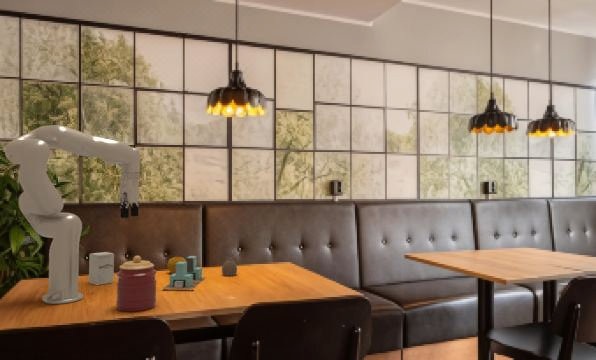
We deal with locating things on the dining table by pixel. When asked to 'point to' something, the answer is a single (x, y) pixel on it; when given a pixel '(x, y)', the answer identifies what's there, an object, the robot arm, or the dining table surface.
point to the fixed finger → (194, 267)
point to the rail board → (195, 282)
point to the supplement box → (101, 268)
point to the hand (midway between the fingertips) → (129, 216)
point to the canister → (136, 285)
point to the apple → (174, 263)
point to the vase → (229, 268)
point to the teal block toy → (181, 275)
